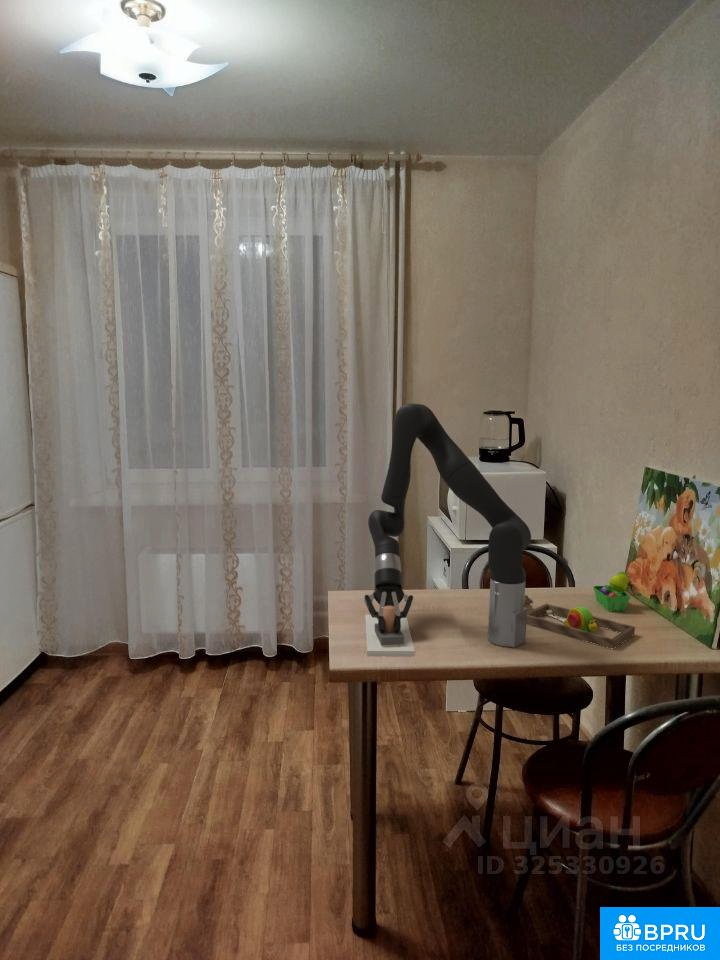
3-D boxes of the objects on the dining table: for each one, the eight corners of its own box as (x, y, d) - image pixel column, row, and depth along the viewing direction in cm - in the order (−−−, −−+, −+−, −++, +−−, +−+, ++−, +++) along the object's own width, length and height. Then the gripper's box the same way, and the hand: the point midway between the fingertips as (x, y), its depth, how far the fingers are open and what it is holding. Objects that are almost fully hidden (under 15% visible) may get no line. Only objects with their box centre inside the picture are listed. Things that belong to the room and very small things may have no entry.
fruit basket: (591, 600, 210) (593, 567, 209) (617, 600, 211) (620, 566, 209) (606, 613, 199) (608, 577, 198) (634, 612, 200) (637, 577, 198)
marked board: (365, 619, 192) (365, 614, 192) (405, 619, 192) (406, 614, 192) (367, 656, 166) (367, 650, 166) (414, 656, 166) (414, 651, 166)
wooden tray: (634, 635, 182) (635, 626, 181) (613, 649, 172) (613, 640, 171) (546, 611, 200) (546, 603, 200) (522, 622, 190) (522, 614, 190)
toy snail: (587, 638, 179) (588, 615, 178) (538, 615, 197) (539, 594, 196) (604, 634, 182) (605, 612, 181) (555, 612, 199) (556, 592, 198)
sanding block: (374, 631, 179) (375, 601, 177) (396, 630, 179) (396, 600, 178) (381, 646, 169) (381, 615, 167) (403, 645, 170) (404, 613, 168)
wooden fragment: (538, 617, 196) (538, 614, 195) (500, 615, 197) (500, 612, 197) (527, 591, 221) (527, 588, 221) (494, 589, 222) (494, 586, 222)
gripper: (362, 566, 178) (363, 625, 168) (414, 566, 178) (417, 625, 168) (362, 579, 184) (362, 637, 174) (412, 579, 184) (415, 637, 174)
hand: (389, 631), depth 171 cm, fingers closed on sanding block, 3 cm apart
